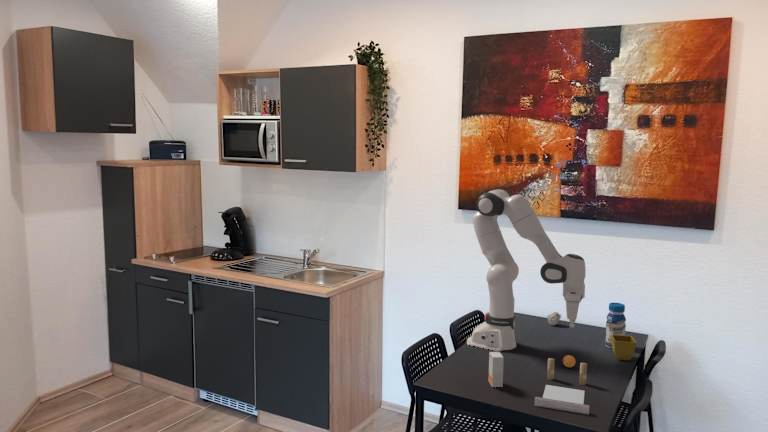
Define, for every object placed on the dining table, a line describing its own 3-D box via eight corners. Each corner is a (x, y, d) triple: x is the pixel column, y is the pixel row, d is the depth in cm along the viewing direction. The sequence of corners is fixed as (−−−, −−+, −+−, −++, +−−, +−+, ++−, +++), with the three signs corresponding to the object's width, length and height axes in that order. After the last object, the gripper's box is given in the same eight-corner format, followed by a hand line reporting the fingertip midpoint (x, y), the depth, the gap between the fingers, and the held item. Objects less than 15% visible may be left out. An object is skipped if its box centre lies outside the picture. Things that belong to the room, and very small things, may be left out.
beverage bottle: (621, 344, 266) (623, 302, 264) (626, 350, 258) (629, 307, 256) (602, 343, 267) (604, 301, 265) (607, 349, 259) (610, 306, 256)
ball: (562, 368, 235) (562, 356, 234) (563, 364, 240) (563, 352, 239) (574, 370, 233) (575, 358, 233) (575, 365, 238) (576, 354, 237)
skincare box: (488, 381, 220) (489, 351, 219) (498, 381, 221) (500, 351, 219) (491, 388, 214) (492, 357, 213) (503, 387, 215) (504, 357, 213)
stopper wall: (534, 405, 200) (534, 398, 199) (535, 403, 202) (535, 396, 201) (588, 414, 193) (589, 407, 193) (589, 412, 195) (589, 405, 195)
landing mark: (542, 399, 205) (542, 399, 205) (545, 385, 218) (545, 384, 218) (583, 406, 200) (583, 406, 200) (584, 391, 213) (584, 390, 213)
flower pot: (635, 362, 242) (636, 342, 241) (613, 361, 244) (614, 340, 243) (630, 355, 251) (632, 335, 250) (609, 354, 253) (611, 334, 252)
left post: (546, 379, 223) (547, 359, 222) (547, 377, 225) (548, 357, 224) (553, 380, 222) (554, 360, 221) (553, 378, 224) (554, 358, 224)
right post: (579, 384, 219) (580, 364, 218) (579, 382, 221) (580, 362, 220) (585, 385, 218) (587, 365, 217) (586, 383, 220) (587, 363, 219)
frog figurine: (560, 327, 290) (561, 314, 289) (546, 326, 292) (546, 313, 291) (560, 324, 296) (561, 311, 295) (546, 322, 298) (547, 309, 297)
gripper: (567, 286, 252) (566, 317, 254) (564, 297, 233) (563, 330, 235) (582, 287, 250) (581, 318, 251) (580, 298, 231) (579, 332, 232)
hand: (572, 324), depth 243 cm, fingers open, 8 cm apart
